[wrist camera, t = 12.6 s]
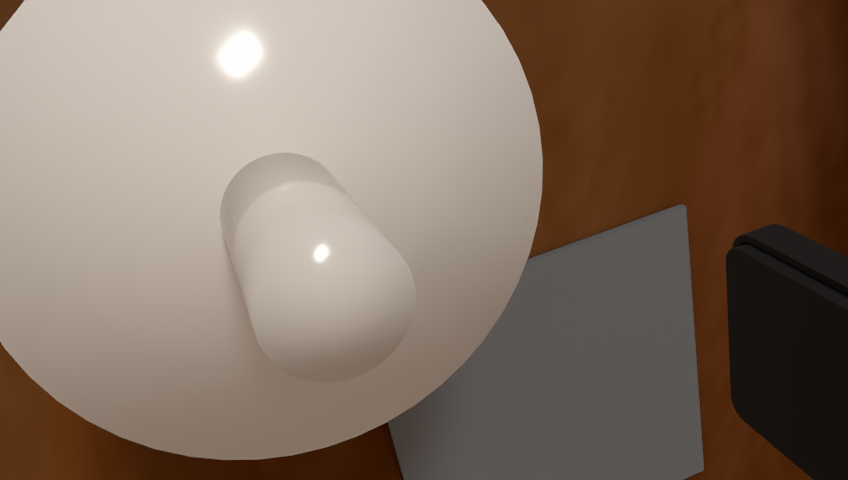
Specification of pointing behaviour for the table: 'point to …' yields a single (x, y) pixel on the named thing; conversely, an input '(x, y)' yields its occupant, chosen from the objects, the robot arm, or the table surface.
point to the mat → (575, 371)
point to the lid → (258, 211)
